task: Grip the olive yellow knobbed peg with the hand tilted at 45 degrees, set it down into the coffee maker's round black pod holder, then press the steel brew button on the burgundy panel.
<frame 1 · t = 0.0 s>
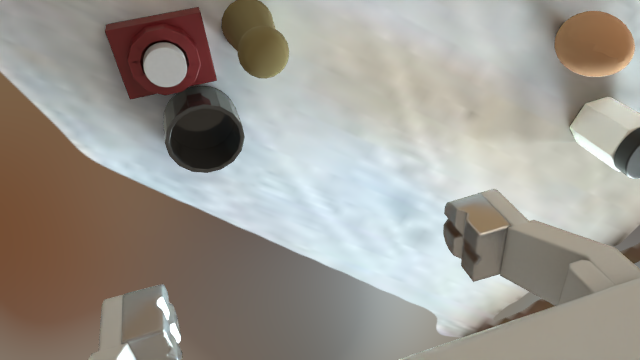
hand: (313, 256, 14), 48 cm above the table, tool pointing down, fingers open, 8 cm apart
jar: (591, 119, 84), on the table
pod holder: (200, 118, 63), on the table
olive yellow knobbed peg: (247, 24, 58), on the table
brew button: (165, 64, 53), point 4 cm above the table, slide at 0.1 cm
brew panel: (163, 50, 57), on the table
egg: (564, 31, 72), on the table
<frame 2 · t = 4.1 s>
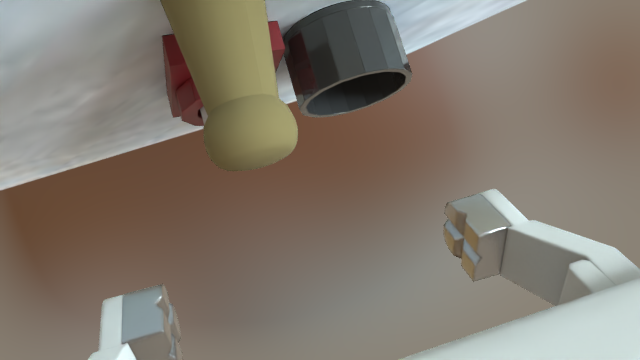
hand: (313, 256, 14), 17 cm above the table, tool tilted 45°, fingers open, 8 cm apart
pod holder: (336, 31, 40), on the table
brew button: (231, 113, 38), point 4 cm above the table, slide at 0.1 cm
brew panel: (217, 60, 39), on the table
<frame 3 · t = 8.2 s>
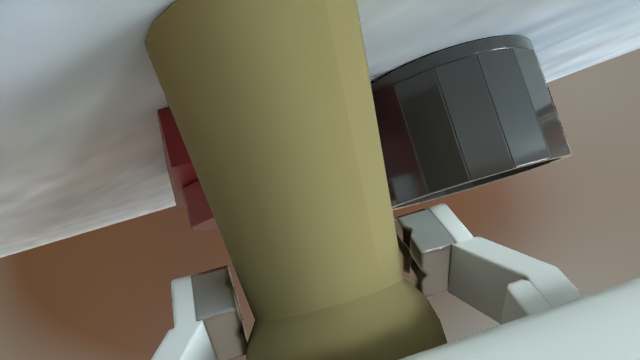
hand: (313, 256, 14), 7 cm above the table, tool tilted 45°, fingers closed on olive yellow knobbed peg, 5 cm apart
pod holder: (438, 79, 25), on the table
olive yellow knobbed peg: (253, 25, 14), on the table, touching gripper
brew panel: (248, 129, 24), on the table
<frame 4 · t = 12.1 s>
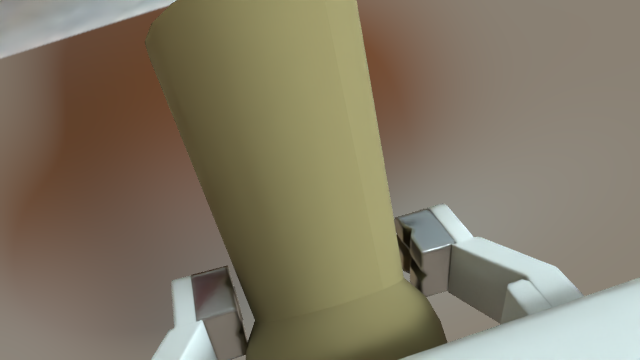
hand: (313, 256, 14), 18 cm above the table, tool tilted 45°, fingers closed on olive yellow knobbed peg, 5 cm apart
olive yellow knobbed peg: (252, 25, 14), point 12 cm above the table, touching gripper
when the fingers open (7 cm above the table, at t = 16.1 s): olive yellow knobbed peg stays where it is, resting on pod holder.
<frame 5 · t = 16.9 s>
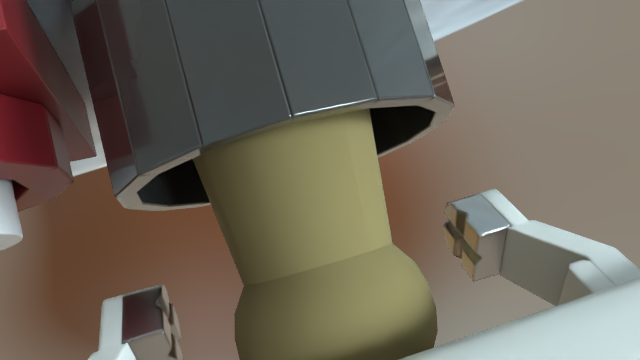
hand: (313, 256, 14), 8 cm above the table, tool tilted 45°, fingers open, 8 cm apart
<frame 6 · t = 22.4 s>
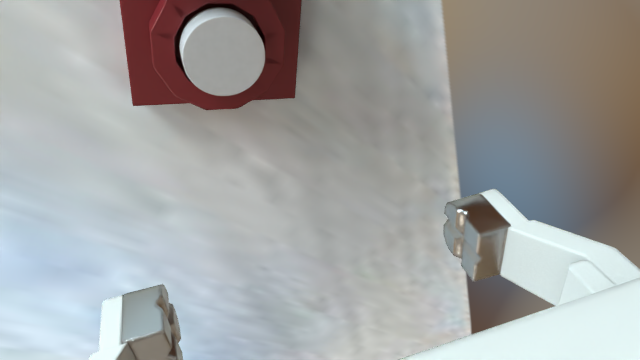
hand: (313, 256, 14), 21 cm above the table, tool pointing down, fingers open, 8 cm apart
brew button: (222, 52, 27), point 4 cm above the table, slide at 0.1 cm
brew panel: (211, 27, 31), on the table
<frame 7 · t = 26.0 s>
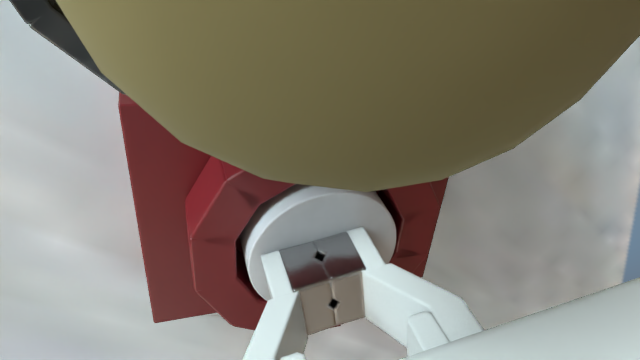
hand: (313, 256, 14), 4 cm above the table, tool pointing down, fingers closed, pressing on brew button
brew button: (316, 236, 15), point 3 cm above the table, slide at -0.9 cm, touching gripper
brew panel: (288, 173, 18), on the table
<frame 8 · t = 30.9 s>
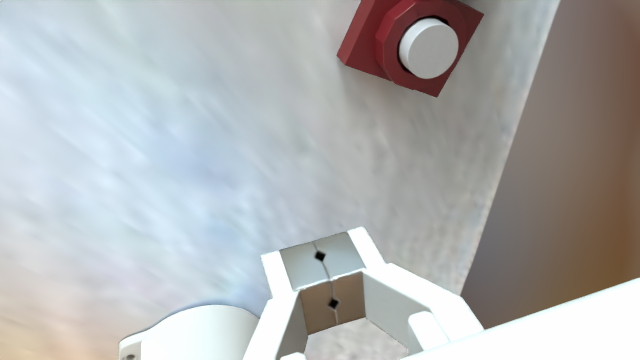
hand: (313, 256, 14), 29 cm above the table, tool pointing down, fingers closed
brew button: (428, 48, 40), point 4 cm above the table, slide at 0.1 cm
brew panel: (404, 31, 43), on the table
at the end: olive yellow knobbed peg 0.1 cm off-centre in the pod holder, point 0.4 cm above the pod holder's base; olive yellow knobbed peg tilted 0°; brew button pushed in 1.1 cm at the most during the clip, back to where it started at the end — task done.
